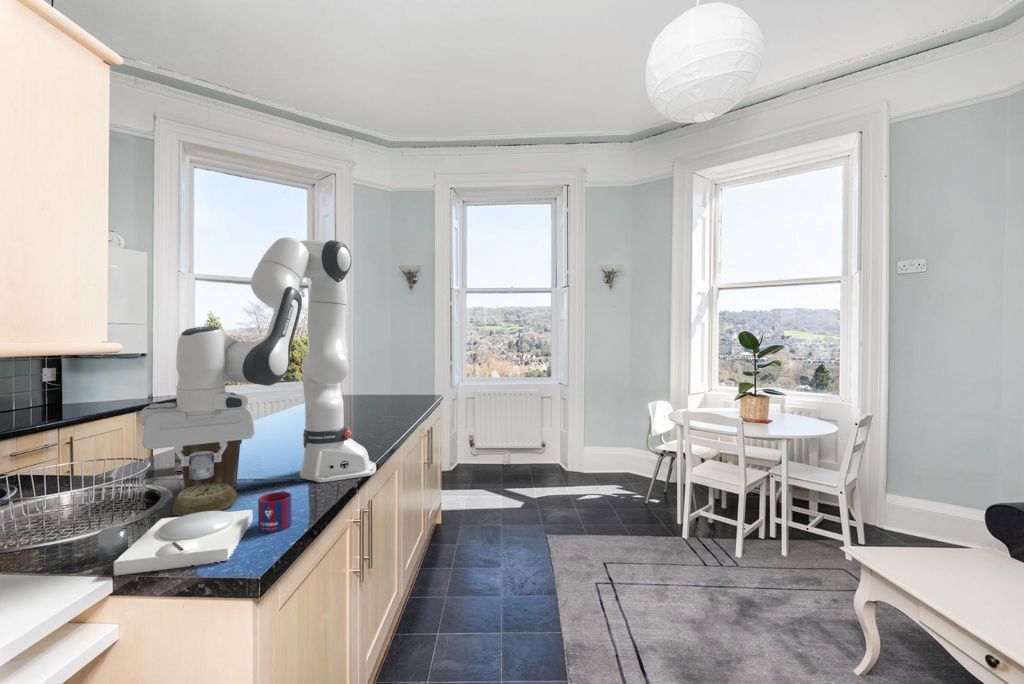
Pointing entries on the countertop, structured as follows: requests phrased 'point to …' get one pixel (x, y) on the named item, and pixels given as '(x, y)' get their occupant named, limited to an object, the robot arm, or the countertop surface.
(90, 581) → the countertop surface
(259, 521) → the mug
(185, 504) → the olive green round disc
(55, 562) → the countertop surface
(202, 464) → the spacer
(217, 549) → the scale
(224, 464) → the plant pot
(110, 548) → the spacer
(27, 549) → the countertop surface
